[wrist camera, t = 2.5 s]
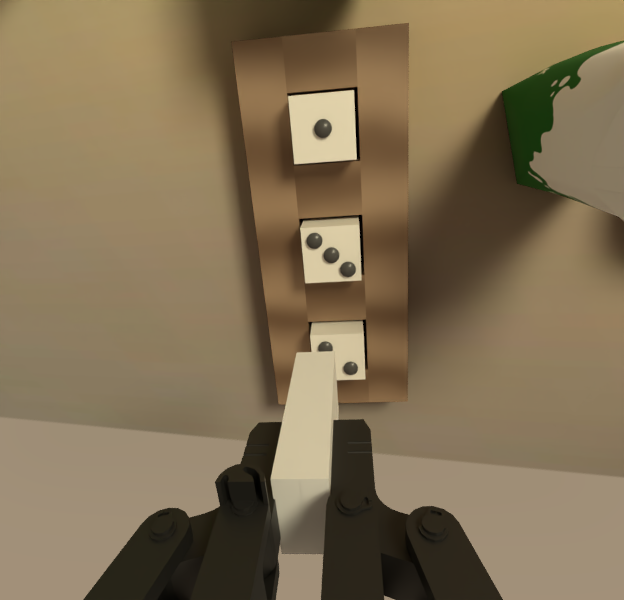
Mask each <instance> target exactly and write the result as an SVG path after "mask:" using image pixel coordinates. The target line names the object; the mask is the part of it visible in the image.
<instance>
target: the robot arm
mask: <svg viewBox="0 0 624 600" xmlns="http://www.w3.org/2000/svg"><path fill="white" fill-rule="evenodd" d="M338 413H339V407H338V393H337V379H336V364H335V351H325V352H297V353H296V358H295V363H294V368H293V372H292V377H291V382H290V387H289V392H288V397H287V402H286V406H285V411H284V416H283V421H282V422H264V423H258V424H257V425H256V427H255V428H254V429H253V430H252V431H251V432H250V434H249V438H248V441H247V446H246V448H245V452H244V456H243V458H242V461H241V464H238V465H234V466H232V467H230V468H227V469H226V470H225V471H224V472H222V473H221V474H220V475H219V477H218V478H217V480H216V481H215V484H216V488H217V493H218V497H219V502H220V507H218V508H216V509H215V510H213V511H210V512H208V513H205V514H201V515H198V516H194V517H190V518H189V517H188V516H187V514H186V512H185V511H183V510H180V509H178V508H167V509H163V510H160V511H158V512H156V513H154V514H153V515H151V516H149V517H148V518H147V519H146V520H145V521H144V522H143V523H142V524H141V525H140V527H139V528H138V529H137V531H136V532H135V533H134V535H133V536H132V537H131V538H130V540H129V541H128V542H127V544H126V545H125V546H124V548H123V549H122V550H121V551H120V553H119V554H118V556H117V557H116V558H115V559H114V561H113V562H112V563H111V564H110V566H109V567H108V568H107V570H106V571H105V572H104V574H103V575H102V576H101V577H100V579H99V580H98V581H97V583H96V584H95V585H94V587H93V588H92V589H91V590H90V592H89V593H88V594H87V596H86V597H85V598H84V600H276V593H277V586H278V578H279V563H278V553H279V546H280V545H281V552H282V554H324V556H323V574H322V592H321V600H384V596H387V597H390V598H393V599H395V600H503V599H502V597H501V596H500V594H499V592H498V590H497V588H496V587H495V585H494V583H493V581H492V580H491V578H490V576H489V574H488V573H487V571H486V569H485V567H484V566H483V564H482V562H481V560H480V559H479V557H478V555H477V554H476V552H475V550H474V548H473V546H472V545H471V543H470V541H469V539H468V538H467V536H466V534H465V532H464V530H463V529H462V527H461V525H460V524H459V522H458V521H457V520H456V518H455V517H454V516H453V515H452V514H450V513H449V512H447V511H445V510H444V509H441V508H437V507H434V506H426V507H420V508H418V509H415V510H414V511H413V512H412V513H411V514H410V515H408V514H404V513H400V512H398V511H395V510H392V509H390V508H389V507H387V506H386V505H384V504H383V503H382V502H381V501H380V499H379V498H378V496H377V494H376V491H375V483H374V470H373V457H372V444H371V431H370V428H369V427H368V426H367V424H366V423H365V421H364V420H363V419H360V420H338Z"/></svg>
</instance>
